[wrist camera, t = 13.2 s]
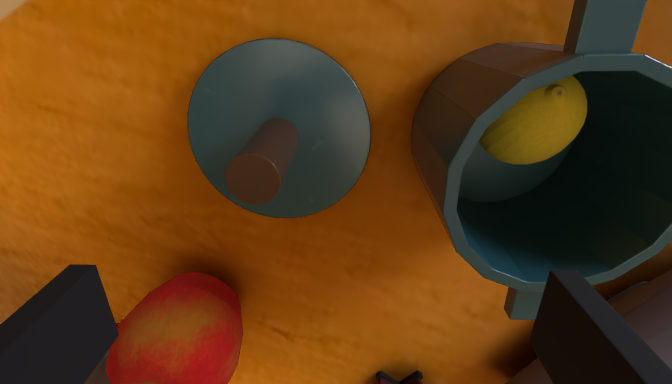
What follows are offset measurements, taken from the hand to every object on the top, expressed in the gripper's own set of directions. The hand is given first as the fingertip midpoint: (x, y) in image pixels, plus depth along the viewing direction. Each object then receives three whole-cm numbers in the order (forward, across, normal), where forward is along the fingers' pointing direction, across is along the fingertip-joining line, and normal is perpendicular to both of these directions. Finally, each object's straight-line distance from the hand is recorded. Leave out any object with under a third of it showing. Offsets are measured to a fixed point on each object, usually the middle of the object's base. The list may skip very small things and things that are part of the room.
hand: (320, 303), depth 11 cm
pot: (+18, +12, 0) cm, 22 cm away
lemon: (+17, +12, 0) cm, 21 cm away
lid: (+18, -4, 0) cm, 18 cm away
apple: (+19, -12, -15) cm, 27 cm away
